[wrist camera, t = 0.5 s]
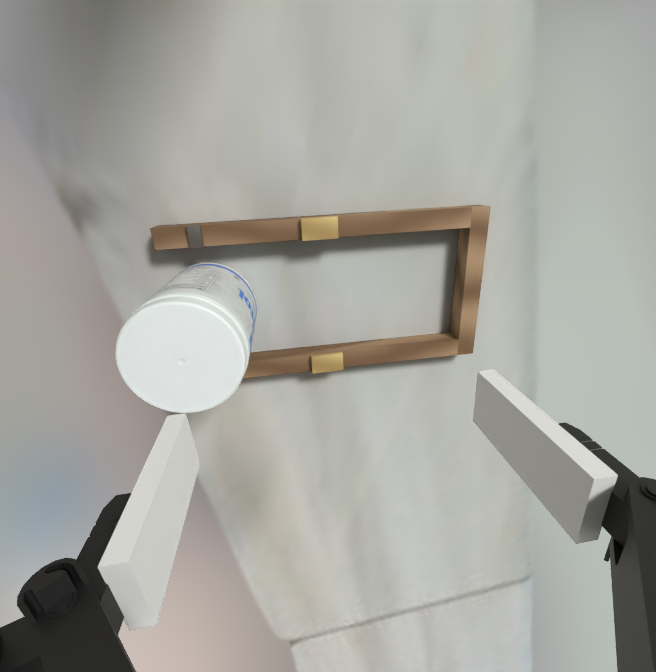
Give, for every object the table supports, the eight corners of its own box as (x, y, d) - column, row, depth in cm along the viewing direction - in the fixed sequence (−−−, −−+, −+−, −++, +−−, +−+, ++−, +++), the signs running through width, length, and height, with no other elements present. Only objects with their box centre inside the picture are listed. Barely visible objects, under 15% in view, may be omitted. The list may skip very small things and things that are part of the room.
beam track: (157, 225, 36) (147, 228, 33) (478, 204, 40) (493, 206, 37) (191, 374, 43) (185, 387, 40) (463, 345, 47) (475, 355, 44)
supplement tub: (268, 329, 42) (265, 397, 29) (190, 352, 42) (150, 432, 29) (239, 248, 38) (219, 283, 25) (152, 273, 38) (85, 323, 25)
